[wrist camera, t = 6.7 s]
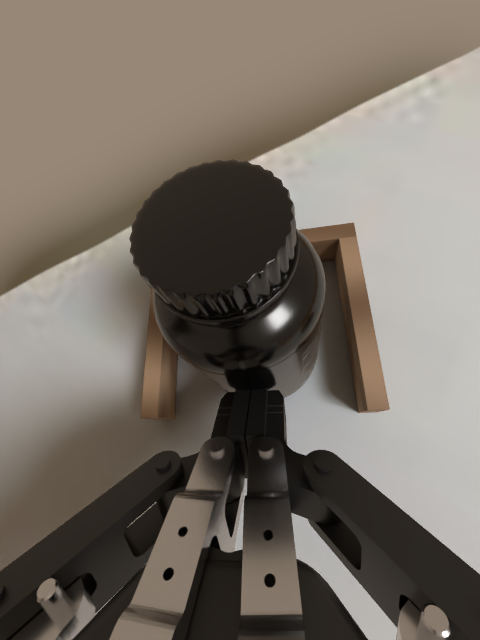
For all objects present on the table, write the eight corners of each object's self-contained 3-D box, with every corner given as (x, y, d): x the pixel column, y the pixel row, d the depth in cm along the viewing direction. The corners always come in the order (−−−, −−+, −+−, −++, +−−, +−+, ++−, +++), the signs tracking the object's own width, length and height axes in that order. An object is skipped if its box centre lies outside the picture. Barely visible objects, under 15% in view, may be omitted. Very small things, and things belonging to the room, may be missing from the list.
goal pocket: (377, 412, 17) (389, 409, 14) (159, 419, 19) (140, 418, 17) (347, 245, 21) (353, 222, 18) (169, 267, 23) (155, 249, 20)
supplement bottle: (270, 283, 21) (238, 103, 10) (340, 356, 18) (405, 216, 7) (190, 343, 20) (62, 219, 9) (250, 429, 17) (169, 397, 6)
